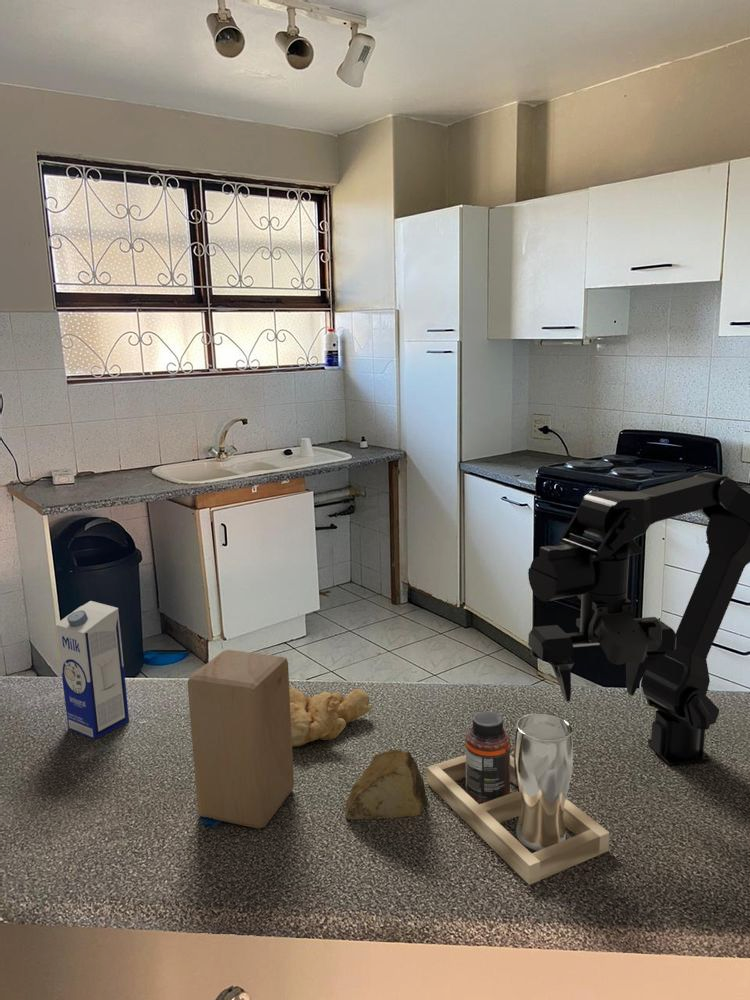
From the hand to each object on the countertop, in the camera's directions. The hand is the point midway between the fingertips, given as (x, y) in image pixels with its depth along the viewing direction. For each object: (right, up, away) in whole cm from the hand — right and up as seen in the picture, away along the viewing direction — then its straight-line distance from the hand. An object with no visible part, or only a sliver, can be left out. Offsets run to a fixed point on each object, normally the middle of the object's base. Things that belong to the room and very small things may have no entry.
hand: (598, 697), depth 101 cm
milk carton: (-76, -10, +20) cm, 79 cm away
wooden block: (-48, -14, -1) cm, 50 cm away
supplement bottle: (-15, -13, 0) cm, 20 cm away
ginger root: (-40, -10, +17) cm, 45 cm away
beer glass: (-10, -15, -9) cm, 20 cm away
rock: (-29, -14, -3) cm, 33 cm away
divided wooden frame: (-13, -14, -5) cm, 20 cm away
